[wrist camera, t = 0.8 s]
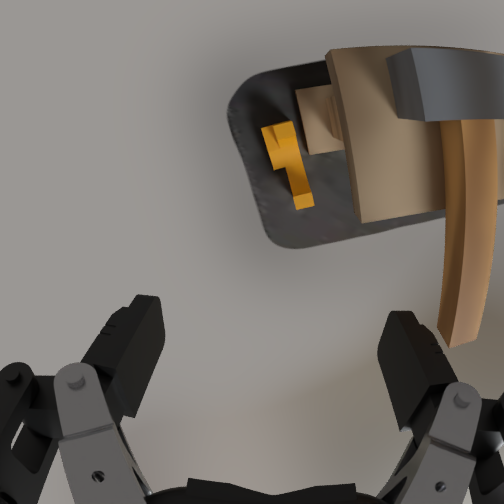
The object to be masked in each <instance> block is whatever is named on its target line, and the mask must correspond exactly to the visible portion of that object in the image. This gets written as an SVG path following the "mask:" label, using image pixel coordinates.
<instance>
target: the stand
mask: <svg viewBox="0 0 504 504" xmlns="http://www.w3.org/2000/svg"><path fill="white" fill-rule="evenodd" d="M409 48H439V49H454V50H465V51H474V52H483V53H490V54H497V55H503V56H504V54H501V53H495V52H488V51H481V50H473V49H464V48H453V47H439V46H368V47H355V48H341V49H332V50H330V51H329V52H328V53H327V54H326V55H325V59H326V63H327V67H328V71H329V75H330V79H331V85H324V86H317V87H310V88H304V89H298V90H295V94H296V98H297V102H298V106H299V111H300V115H301V120H302V124H303V129H304V133H305V138H306V143H307V148H308V153H309V155H312V154H318V153H324V152H330V151H336V150H343V149H345V153H346V159H347V165H348V172H349V178H350V185H351V192H352V200H353V207H354V213H355V214H356V216H357V217H358V219H359V220H360V221H361V223H367V222H372V221H378V220H384V219H389V218H395V217H401V216H406V215H412V214H418V213H424V212H429V211H435V210H441V209H446V202H445V175H444V160H443V149H442V139H441V130H440V122H439V121H428V122H424V121H416V120H408V119H398V116H397V110H396V105H395V99H394V94H393V89H392V84H391V80H390V75H389V71H388V66H387V62H386V58H387V57H390V56H392V55H394V54H397V53H399V52H401V51H404V50H406V49H409ZM494 121H495V132H496V145H497V170H498V192H497V200H500V199H504V119H494Z"/></svg>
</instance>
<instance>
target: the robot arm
mask: <svg viewBox="0 0 504 504" xmlns="http://www.w3.org/2000/svg"><path fill="white" fill-rule="evenodd" d="M164 343H165V329H164V322H163V316H162V308H161V302H160V299H159V297H157V296H148V295H139V294H138V295H136V297H135V298H134V300H133V301H132V303H131V304H130V306H129V307H122V308H121V309H119V310H118V311H116V312H115V313H114V314H112V315H111V317H110V318H109V320H108V321H107V322H106V324H105V326H104V327H103V329H102V330H101V331H100V334H99V335H98V336H97V337H96V339H95V341H94V342H93V343H92V345H91V346H90V348H89V350H88V351H87V353H86V354H85V356H84V357H83V359H82V360H81V362H80V363H72V364H69V365H66V366H65V367H63V368H62V369H60V370H59V371H58V373H57V374H56V376H35V375H34V373H33V372H32V370H31V368H30V367H29V366H28V365H27V364H25V363H22V362H15V363H11V364H9V365H7V366H6V367H4V368H3V369H2V370H1V371H0V504H37V503H38V500H39V497H40V494H41V492H42V489H43V486H44V483H45V481H46V478H47V475H48V473H49V470H50V467H51V465H52V462H53V460H54V457H55V455H56V452H57V450H58V448H59V450H60V454H61V458H62V462H63V466H64V469H65V473H66V476H67V480H68V483H69V486H70V489H71V493H72V496H73V499H74V502H75V504H462V502H463V500H464V497H465V495H466V492H467V489H468V486H469V490H470V495H471V499H472V504H504V466H503V463H502V460H501V457H500V454H499V451H498V450H499V449H500V448H501V447H502V446H503V445H504V393H503V394H502V395H501V397H500V398H499V399H498V400H492V399H483V398H481V397H480V395H479V393H478V392H477V390H476V389H475V388H473V387H472V386H470V385H469V384H466V383H463V382H459V381H458V379H457V377H456V375H455V373H454V371H453V369H452V368H451V365H450V364H449V362H448V360H447V358H446V356H445V354H443V351H442V349H441V347H440V345H438V342H437V340H436V338H435V336H434V334H433V333H432V332H431V331H430V330H429V329H427V328H426V327H425V326H424V325H420V324H419V322H418V320H417V319H416V317H415V315H414V313H413V312H412V311H391V312H390V313H389V316H388V318H387V322H386V324H385V327H384V330H383V333H382V336H381V339H380V342H379V345H378V351H377V355H378V361H379V364H380V367H381V370H382V373H383V376H384V380H385V383H386V386H387V389H388V393H389V396H390V399H391V402H392V406H393V409H394V412H395V416H396V419H397V423H398V426H399V430H400V432H402V431H408V430H412V432H413V437H412V438H411V440H410V441H409V443H408V445H407V447H406V449H405V451H404V453H403V455H402V457H401V459H400V461H399V463H398V464H397V466H396V468H395V470H394V472H393V473H392V475H391V477H390V479H389V480H388V482H387V483H386V485H385V486H384V487H383V489H382V490H381V491H380V492H379V494H378V495H377V496H376V497H374V496H371V495H368V494H363V493H358V492H356V486H355V483H352V484H342V485H341V484H340V485H325V486H314V487H310V488H306V489H302V490H298V491H293V492H289V493H284V494H279V495H268V494H264V493H261V492H257V491H253V490H250V489H246V488H243V487H239V486H236V485H233V484H230V483H222V482H214V481H206V480H199V479H193V478H188V482H187V487H176V488H170V489H166V490H162V491H159V492H156V493H153V492H152V491H151V489H150V487H149V485H148V483H147V481H146V480H145V478H144V476H143V475H142V472H141V471H140V469H139V466H138V464H137V462H136V460H135V458H134V456H133V454H132V451H131V449H130V447H129V444H128V442H127V440H126V437H125V435H124V432H123V430H122V427H121V425H120V422H121V420H122V417H123V415H125V416H128V417H133V418H135V416H136V414H137V411H138V408H139V406H140V403H141V401H142V398H143V396H144V393H145V391H146V388H147V386H148V383H149V381H150V379H151V376H152V374H153V371H154V369H155V366H156V364H157V362H158V359H159V357H160V354H161V352H162V350H163V346H164ZM21 422H23V423H24V426H23V428H22V430H21V431H20V433H19V436H18V438H17V440H16V442H15V444H14V446H13V448H12V450H11V443H12V440H13V438H14V436H15V434H16V432H17V430H18V428H19V426H20V424H21Z"/></svg>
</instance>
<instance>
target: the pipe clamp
mask: <svg viewBox="0 0 504 504" xmlns="http://www.w3.org/2000/svg"><path fill="white" fill-rule="evenodd" d="M261 130H262V133H263V136H264V140H265V143H266V146H267V150H268V153H269V156H270V159H271V162H272V165H273V169H274V170H276V169H279V168H283V167H286V171H287V174H288V178H289V182H290V186H291V190H292V194H293V198H294V202H295V206H296V209H297V210H298V209H302V208H306V207H310V206H315V205H314V201H313V197H312V193H311V190H310V187H309V184H308V180H307V177H306V173H305V170H304V166H303V163H302V159H301V155H300V151H299V148H298V144H297V139H296V133H295V130H294V126H293V123H292V121H291V120H289V121H285V122H281V123H277V124H273V125H270V126H266V127H262V128H261Z"/></svg>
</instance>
